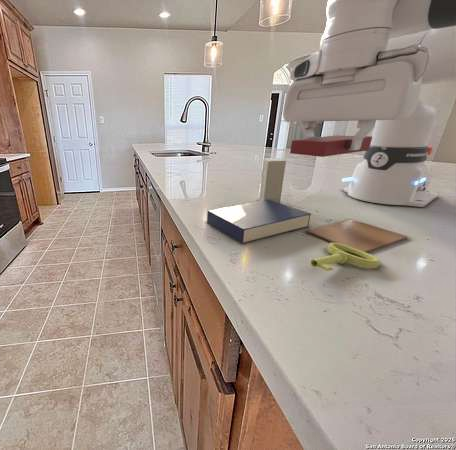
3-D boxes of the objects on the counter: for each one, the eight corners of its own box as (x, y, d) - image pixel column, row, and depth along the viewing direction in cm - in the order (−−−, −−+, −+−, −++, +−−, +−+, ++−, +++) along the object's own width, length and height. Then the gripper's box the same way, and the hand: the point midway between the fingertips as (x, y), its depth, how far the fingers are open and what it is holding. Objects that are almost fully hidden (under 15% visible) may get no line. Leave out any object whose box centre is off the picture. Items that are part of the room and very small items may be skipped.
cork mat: (350, 220, 55) (351, 219, 55) (406, 238, 46) (407, 236, 46) (306, 232, 50) (307, 230, 50) (360, 254, 42) (361, 252, 41)
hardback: (265, 210, 63) (267, 199, 62) (308, 226, 53) (311, 213, 52) (206, 222, 57) (207, 210, 56) (242, 243, 47) (243, 229, 46)
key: (306, 272, 37) (309, 260, 36) (330, 245, 45) (333, 235, 44) (365, 293, 32) (370, 280, 31) (381, 260, 40) (386, 248, 39)
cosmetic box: (279, 207, 65) (287, 160, 60) (262, 206, 66) (268, 161, 61) (274, 200, 71) (280, 157, 66) (257, 199, 72) (263, 157, 67)
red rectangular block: (333, 147, 50) (336, 135, 49) (368, 150, 44) (372, 136, 43) (289, 153, 46) (291, 139, 45) (322, 157, 40) (326, 141, 40)
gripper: (449, 41, 32) (410, 151, 37) (306, 71, 49) (294, 143, 55) (422, 38, 30) (385, 155, 35) (283, 71, 47) (273, 145, 53)
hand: (329, 148), depth 45 cm, fingers closed on red rectangular block, 6 cm apart
